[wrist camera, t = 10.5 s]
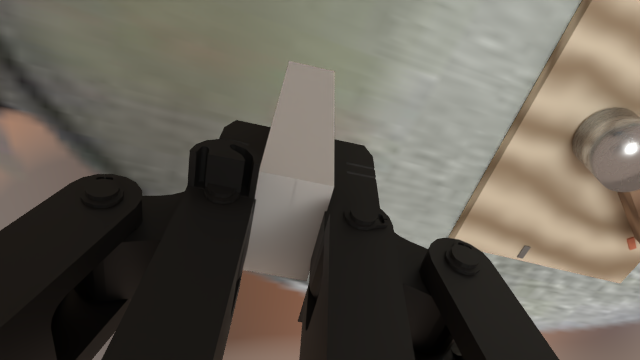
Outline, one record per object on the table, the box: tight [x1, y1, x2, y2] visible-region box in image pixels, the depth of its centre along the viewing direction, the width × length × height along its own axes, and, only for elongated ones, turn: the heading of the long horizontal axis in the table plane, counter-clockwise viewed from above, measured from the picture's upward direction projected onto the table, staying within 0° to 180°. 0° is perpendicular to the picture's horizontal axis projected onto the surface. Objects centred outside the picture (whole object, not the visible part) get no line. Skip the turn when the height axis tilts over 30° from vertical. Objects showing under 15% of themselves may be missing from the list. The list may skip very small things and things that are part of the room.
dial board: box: [449, 0, 640, 283], centre depth 50 cm, size 34×25×2 cm
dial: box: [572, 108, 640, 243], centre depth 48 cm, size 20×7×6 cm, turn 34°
